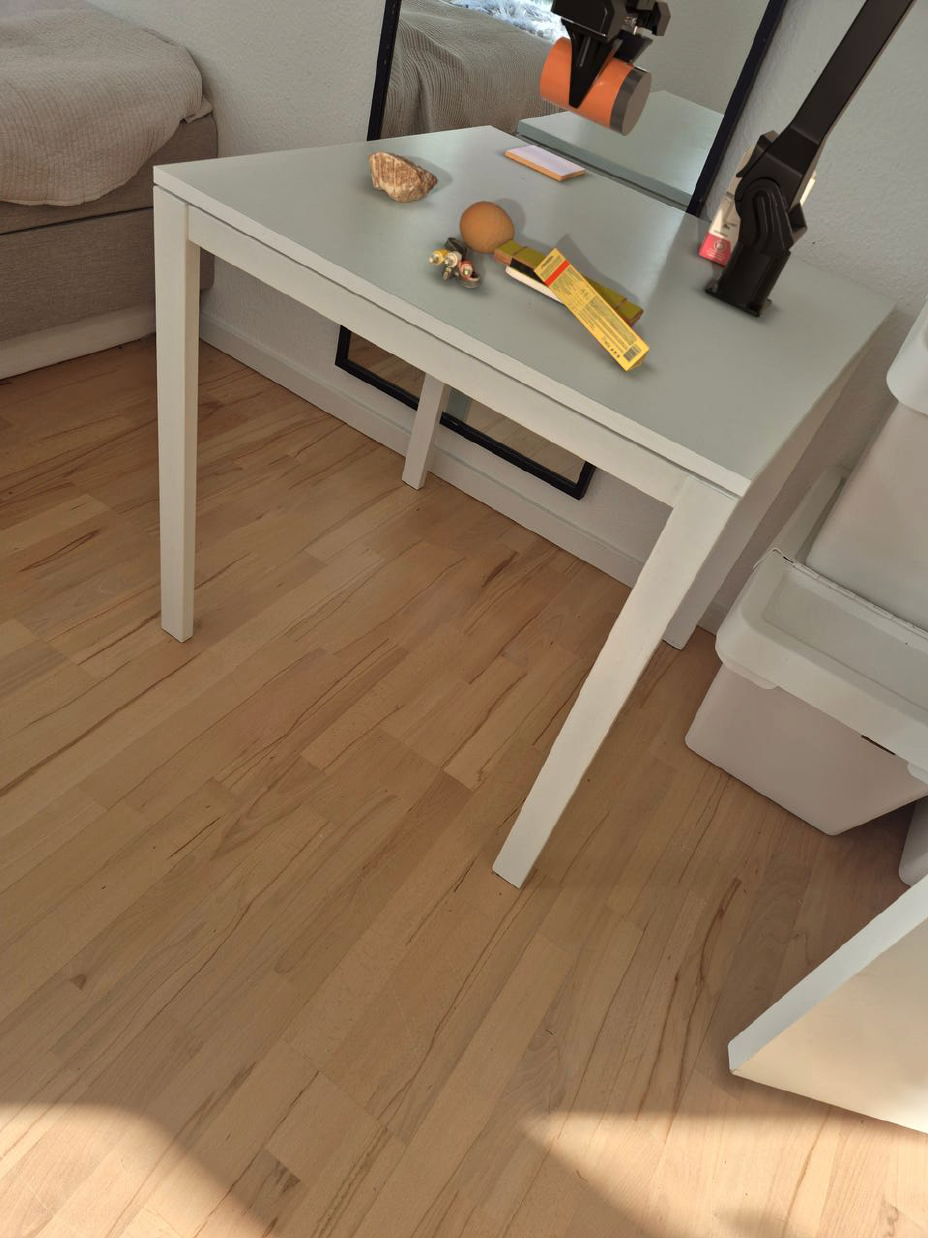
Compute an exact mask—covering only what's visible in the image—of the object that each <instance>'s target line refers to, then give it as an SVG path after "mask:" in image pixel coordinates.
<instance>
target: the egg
mask: <svg viewBox="0 0 928 1238" xmlns="http://www.w3.org/2000/svg"><path fill="white" fill-rule="evenodd" d="M459 232H460V236H461V238H462V240H463V241H464V244H465V245H466V246H467V247H469V248H470V249H471V250H473V251H475V252H477V253H480V254H494V251H495V248H497V247H498V246H500V245H501V244H503V243H505V242H506V241H508V240H511V241H514V239H515V235H516V229H515V225H514V223H513V220H512V218H511V216H510V215H509V214H508V212H506V211H505V209H504V208H503V207H501V206H500V205H498V204H497V203H494V202H492V201H485V200H481V201H477V202H474V203H472V204H470V205H469V206H468V207H466V209H465V210H464V211H463V212H462V213H461V216H460V219H459Z"/></svg>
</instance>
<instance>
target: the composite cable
mask: <svg viewBox="0 0 928 1238" xmlns="http://www.w3.org/2000/svg"><path fill="white" fill-rule="evenodd" d="M469 253H470V250H469V248H468V246H467V244H466V243H463V242H462V241H460V240H459V239H457V238H456V237H453V236H452V237H451V236H449V237H447V239H446V242H445V243H444V248H441V249H438V250H433V252H431V254H430V256H429V258H428V262H429V263H430V264H433V265H435V266H439V265H442V264H445V265H444V267H443V268H442V272H441V275H442V277H443V278H442V279H443V280H451V279H453V278H454V276H455V278H456V281H457V283H458V284H459V285H460V286H462V287H464V288H467V289H476V288H479V287H480V285H481V274H480V272H479V271H478V270H477V269H475V267H474V266H473V265H472V263H471V262H470V261H469V260H468V256H469Z"/></svg>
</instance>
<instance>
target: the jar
mask: <svg viewBox="0 0 928 1238" xmlns="http://www.w3.org/2000/svg"><path fill="white" fill-rule="evenodd" d="M571 56H572V43H571V40H570V37H569V36H567V35H562V36H561V37H559V38H558V39H557V40H556V41H555V42H554V44H553V45H552V47H551V49H550V50H549V53H548V55H547V57H546V59H545V62H544V65H543V68H542V72H541V76H540V81H539V96H540V98H541V100H542V101H545V102H548V104H551V105H554V106H556V107H558V108H561V109H563V110H565V111H566V112H570V113H571V114H574V115H576V116H578V117H580V118H583V119H585V120H588V121H590V122H592V123H594V124H596V125H598V126H601V127H603V128H605V129H607V130H610V131H612V132H614V133H617V134H619V135H621V136H623V137H626V136H628V135H630V134H631V132H632V131H633V129H634V128H635V127H636V125H637V123H638V121H639V120H640V117H641V116H642V113H643V112H644V109H645V106H646V104H647V102H648V99H649V95H650V93H651V88H652V80H653V75H652V73H651V71H648V70H646V69H644V68H642V67H639V66H636V65H634V64H633V65H632V64H630V63H627V62H625V61H623V60H620V59H618V58H616V57H612V59H611V60H610V61H609V63H608V65H607V66H606V68H605V69H604V71H603V72H602V74H601V75H600V77H599V78H598V80H597V81H596V83H595V84H594V86H593V88H592V89H591V91H590V92H589V94H588V95H587V97H586V98H585V100H584V101H583V102H582V104H581V105H580V107H579V108H574V107H571V106H570V105H569V88H570V74H571Z"/></svg>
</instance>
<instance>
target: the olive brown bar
mask: <svg viewBox="0 0 928 1238" xmlns="http://www.w3.org/2000/svg"><path fill="white" fill-rule="evenodd" d="M492 254H493V255H492V259H493V260H495V261H497V262H498V263H500V264H502V265H504V266H506V267H505V272H506V274H508V276H510V277H512V278H513V279H515V280H518V281H519V282H521V283H523V284H524V285H527V286H528V287H531V288H532V289H534V290H535V291H538V292H540V293H541V294H543V295H546V296H547V297H549V298H551V299H552V300H555V301H557V302H559V303H560V304H563V303H562V301H561V300H560V299H559V298H558V297H557V296H556V295H555V294H554V293H553V292H552V291H551V290H550V288H549V287H548V286H547V285H546V284H545V283H544V282H543V281H542V280H541V279H540V278H539V277H538V276H537V274H536V273H535V272H534V269H535V268H536V267H537V266H538V265H539V264H540V263H541V262H542V261H543V260H544V259H545V258H546V257H547V256H548V255H546V254H544V253H542V252H540V251H538V250H536V249H534V248H532V247H530V246H529V245H528V246H527V245H525V246H524V245H521V244H520V243H518V242H516V241H514V240H513V241H511V240H508V241H506V242H505V243H503V244H501V245H500V246H498V247H497V248H495V251H494V253H492ZM580 274H581V275H582V276H583V277H584V278H585V279H586V280H587V282H588V283H589V284H590V285H591V286H592V287H593V288H594V289H595V290H596V291H597V292H598V293H599V294H600V295H601V297H602V298H603V299H604V300H605V301H606V302H607V303H608V304H609V305H610V306H611V307H612V308H613V309H614V310H615V312H616V313H617V314H618V315H619V316H620V317H621V318H622V319H623V320H624V321H625V322H626V323H627V324H628V325H629V327H630V328H631V329H632V327H633V326H634V325H635V324H636V323H638V322H639V321H640V319H641V318H642V315H643V314H644V312H645V311H644V309H643V308H641V307H640V306H639V305H637V304H635V303H633V302H631V301H629V300H628V298H627V297H626V296H624V295H623V294H621V293H619V292H616V291H615V290H613V289H611V288H610V287H607V286H605V285H604V284H601V283H599V282H598V281H596V280H593V279H591V278H590V277H588V276H586V275H584V274H582V273H580ZM563 305H564V304H563Z"/></svg>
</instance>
